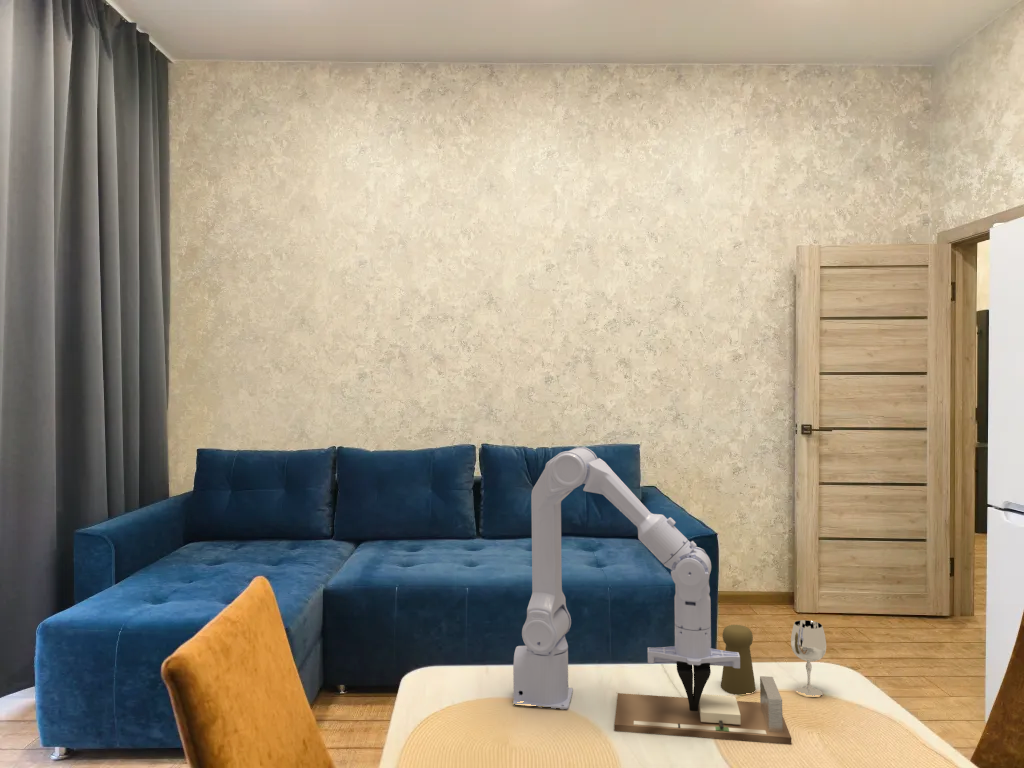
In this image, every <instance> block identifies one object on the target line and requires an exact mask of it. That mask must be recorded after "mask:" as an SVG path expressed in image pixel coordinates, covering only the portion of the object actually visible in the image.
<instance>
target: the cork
mask: <svg viewBox="0 0 1024 768" xmlns="http://www.w3.org/2000/svg"><path fill="white" fill-rule="evenodd" d="M753 637H754V636H753V633H752V631H751V629H750V628H748V627H747V626H744V625H742V624H741V625H740V624H729V625H726V626H725V627H724V628H723V631H722V640H723V643H724V644H725V650H724V651H730V652H738V653H739V655H740V668H733V666H722V673H721V683H720V689H721V690H722V691H724V692H725V693H728V694H731V695H735V694H746V693H752V692H754V691H755V690H757V688H756V682H755V674H754V668H753V662H752V661H753V660H752V653H751V646H752V644H753V639H754V638H753Z"/></svg>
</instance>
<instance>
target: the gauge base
mask: <svg viewBox="0 0 1024 768" xmlns="http://www.w3.org/2000/svg"><path fill="white" fill-rule="evenodd" d="M737 704H738V708H739V711H740V719H741V725H739V724H725V723H723V726H724V729H723V728H720V725H719V723H711V722H701V718H700V712H699V707H698V711H690V709H689V701H688V697H683V696H682V697H680V696H668V695H667V696H666V695H653V694H651V695H650V694H637V693H622V692H618V693H617V697H616V705H615V706H616V708H615V716H614V717H615V718H614V725H613V727H614V729H613V730H614V732H625V733H626V732H627V733H635V734H636V733H637V734H638V733H639V734H651V735H663V736H664V735H665V736H678V737H690V738H691V737H692V738H701V739H702V738H703V739H704V738H705V739H717V740H718V739H719V740H732V741H742V742H757V743H758V742H759V743H768V742H770V743H772V744H784V745H792V736H791V733H790V731H789V728H788V726H787V724H786V721H785V717H784V716H783V714H782V722H783V732H769V730H768V727H767V724H766V721H765V718H764V715H763V712H762V709H761V706H760V702H757V701H746V700H745V701H743V700H737Z"/></svg>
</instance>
